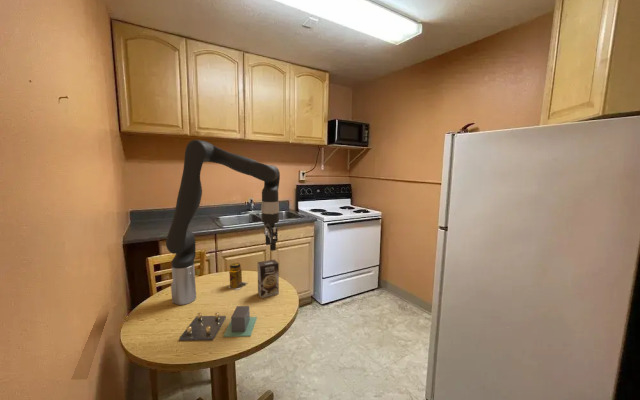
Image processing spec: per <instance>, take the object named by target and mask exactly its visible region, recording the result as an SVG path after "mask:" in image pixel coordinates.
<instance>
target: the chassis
mask: <svg viewBox="0 0 640 400" xmlns="http://www.w3.org/2000/svg"><path fill="white" fill-rule="evenodd" d="M226 318H227V316H226V315H220V312H215V314H214V315H203V313H202V312H198V313H197V315H196V316H195V318H193V320H192V321H191V323H190V324H189V325H188V326H187V327H186V329H185V330H184V331H183V333H182V334H181V335H180V337H179V341H214V339H215V338H216V335H217V334H218V332H219V330H220V329H221V327H222V325H223V324H224V322H225V320H226Z"/></svg>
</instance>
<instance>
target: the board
mask: <svg viewBox="0 0 640 400" xmlns="http://www.w3.org/2000/svg"><path fill="white" fill-rule="evenodd" d="M257 319H258V317H257V316H250V305H239V306H238V305H237V306H236V307H235V309H234V310H233V313H232V315H231V317H230V322H229V324H228V326H227V328H226V330H225V332H224V333H223V338H236V337H237V338H238V337H241V338H243V337H251V336H252V333H253V332H254V331H253V330H254V327H255V324H256V321H257Z"/></svg>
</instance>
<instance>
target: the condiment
mask: <svg viewBox="0 0 640 400" xmlns="http://www.w3.org/2000/svg"><path fill="white" fill-rule="evenodd" d="M228 271H229V272H228V273H229V285H228V286H227V287H226V289H227V288H228V289H230V290H235V291H237V290H240V289H242V288H243V287H244V286H246V285H247V284H248V282H244V281H243V276H242V274H243V273H242V272H243V271H242V267H241V263H239V262H233V263H231V264H230V265H229V270H228Z"/></svg>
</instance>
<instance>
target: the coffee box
mask: <svg viewBox="0 0 640 400" xmlns="http://www.w3.org/2000/svg"><path fill="white" fill-rule="evenodd" d="M279 269H280V268H279V262H278V261H277V260H276V259H268V260H264V261H257V294H258V295H259V298H261V299H264V298H269V297H273V296H277V295H279V294H280V287H279V286H280V282H279V281H280V279H279V275H280V273H279V272H280V271H279Z"/></svg>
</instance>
